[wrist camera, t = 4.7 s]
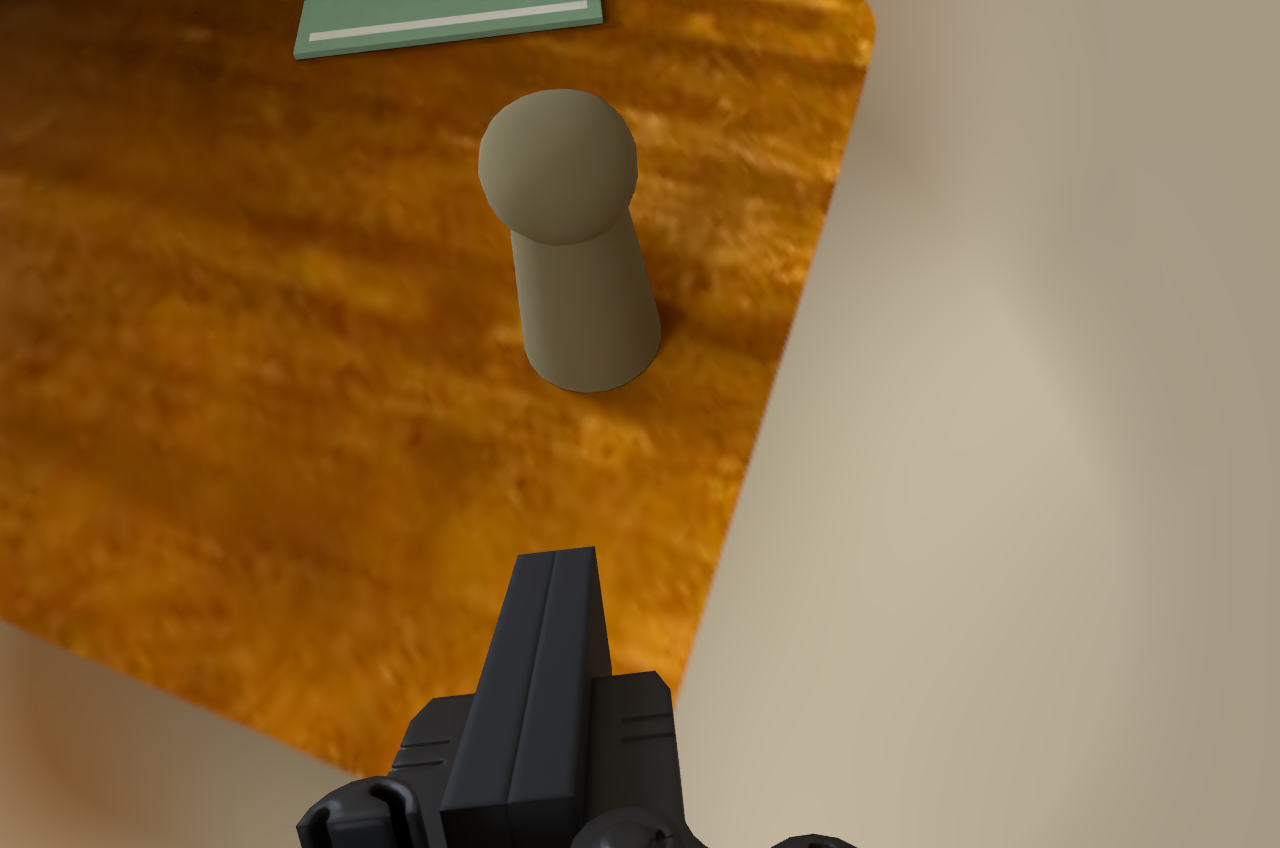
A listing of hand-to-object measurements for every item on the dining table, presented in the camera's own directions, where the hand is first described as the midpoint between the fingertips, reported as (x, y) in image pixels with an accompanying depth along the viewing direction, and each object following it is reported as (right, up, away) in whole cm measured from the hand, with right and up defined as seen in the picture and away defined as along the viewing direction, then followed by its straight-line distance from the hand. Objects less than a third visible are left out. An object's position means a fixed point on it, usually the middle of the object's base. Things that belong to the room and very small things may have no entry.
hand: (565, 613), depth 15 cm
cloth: (-10, +31, +32) cm, 46 cm away
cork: (-1, +8, +18) cm, 20 cm away
